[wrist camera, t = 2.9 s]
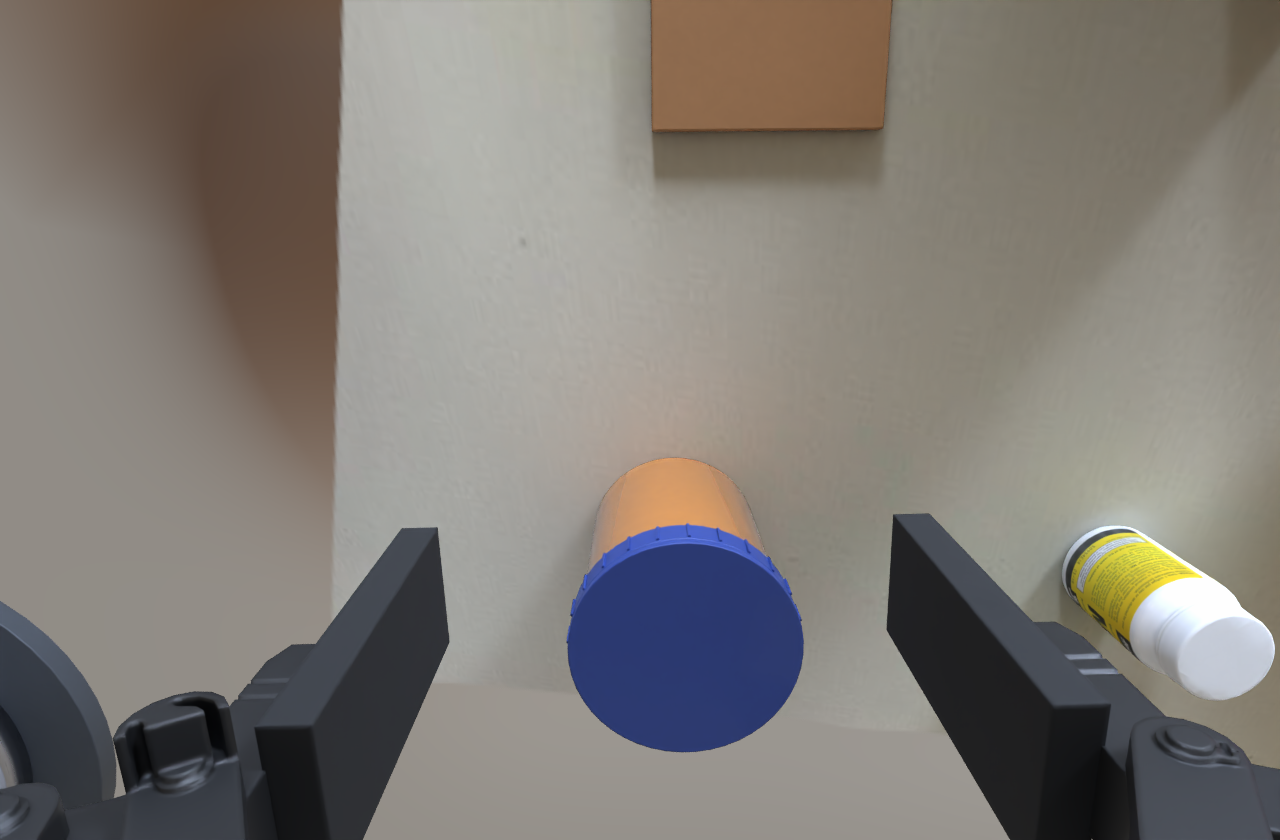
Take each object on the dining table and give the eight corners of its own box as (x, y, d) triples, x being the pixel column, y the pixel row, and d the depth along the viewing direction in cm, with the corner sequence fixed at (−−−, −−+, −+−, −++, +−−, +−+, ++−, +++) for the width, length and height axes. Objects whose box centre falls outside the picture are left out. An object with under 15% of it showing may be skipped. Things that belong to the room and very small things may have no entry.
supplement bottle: (1041, 588, 40) (1143, 685, 32) (1089, 509, 39) (1208, 588, 31) (1121, 621, 40) (1242, 725, 32) (1172, 543, 39) (1310, 631, 31)
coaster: (651, 132, 34) (651, 130, 34) (650, -130, 32) (650, -136, 31) (879, 129, 34) (883, 128, 34) (897, -133, 32) (902, -139, 31)
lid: (585, 734, 32) (582, 763, 30) (556, 535, 29) (550, 554, 28) (802, 715, 31) (811, 742, 30) (789, 511, 29) (798, 529, 27)
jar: (595, 605, 40) (580, 736, 30) (592, 457, 38) (575, 546, 28) (750, 604, 40) (787, 736, 30) (755, 456, 38) (797, 545, 28)
